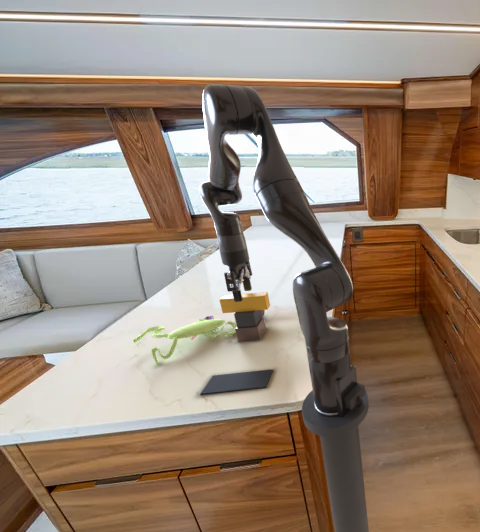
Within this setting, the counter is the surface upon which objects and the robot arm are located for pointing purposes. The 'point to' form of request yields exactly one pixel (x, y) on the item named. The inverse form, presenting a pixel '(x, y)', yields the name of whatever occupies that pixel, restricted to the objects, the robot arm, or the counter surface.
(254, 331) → the tower base
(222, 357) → the counter surface
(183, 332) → the figurine
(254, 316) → the tower top
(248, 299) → the bar
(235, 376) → the mat
